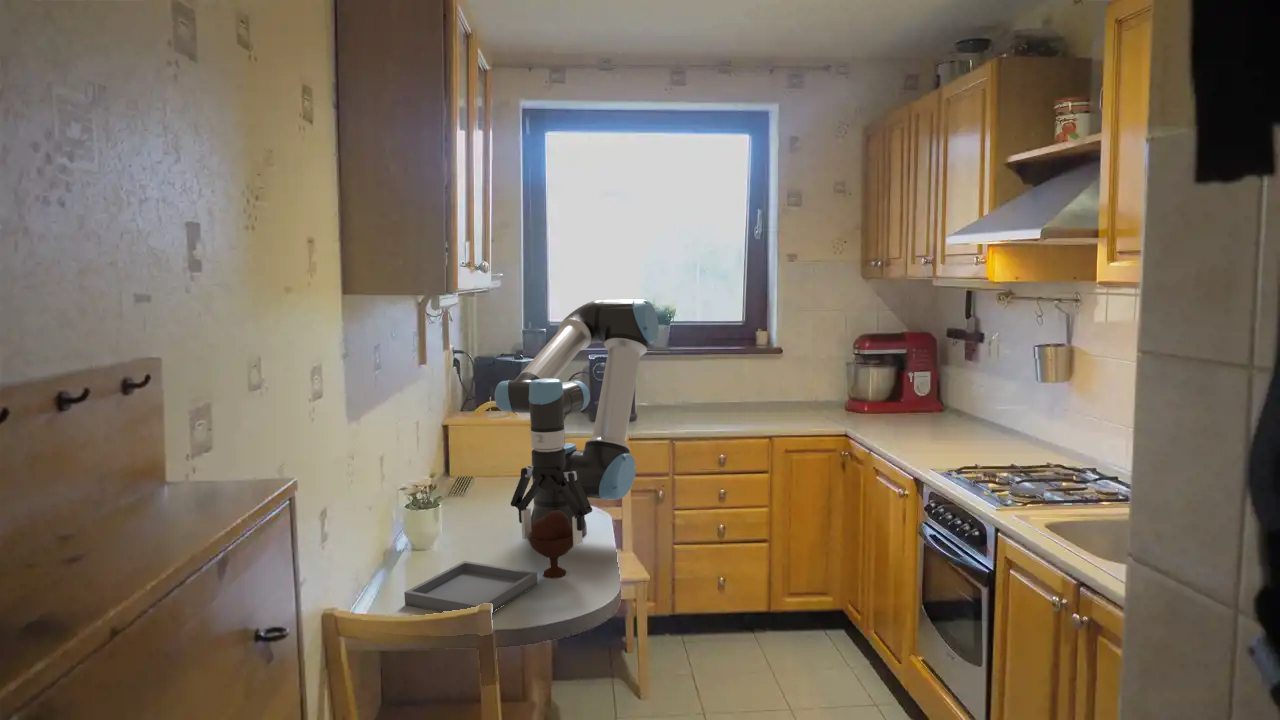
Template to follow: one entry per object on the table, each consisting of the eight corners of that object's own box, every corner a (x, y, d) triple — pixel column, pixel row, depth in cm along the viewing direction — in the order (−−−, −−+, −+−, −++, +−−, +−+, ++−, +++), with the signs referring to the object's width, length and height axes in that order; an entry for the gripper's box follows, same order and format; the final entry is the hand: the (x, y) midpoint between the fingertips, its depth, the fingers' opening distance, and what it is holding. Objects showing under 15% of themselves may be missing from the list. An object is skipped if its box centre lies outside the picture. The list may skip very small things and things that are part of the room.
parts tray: (465, 572, 201) (464, 560, 201) (537, 584, 192) (536, 572, 192) (405, 604, 184) (404, 592, 183) (481, 620, 175) (481, 606, 174)
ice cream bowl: (578, 564, 204) (576, 502, 202) (577, 582, 193) (574, 516, 191) (533, 566, 204) (530, 504, 202) (529, 584, 193) (525, 518, 191)
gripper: (492, 447, 197) (497, 538, 200) (587, 455, 186) (591, 552, 188) (512, 441, 204) (516, 529, 206) (605, 448, 193) (608, 542, 195)
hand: (552, 540), depth 197 cm, fingers open, 13 cm apart
